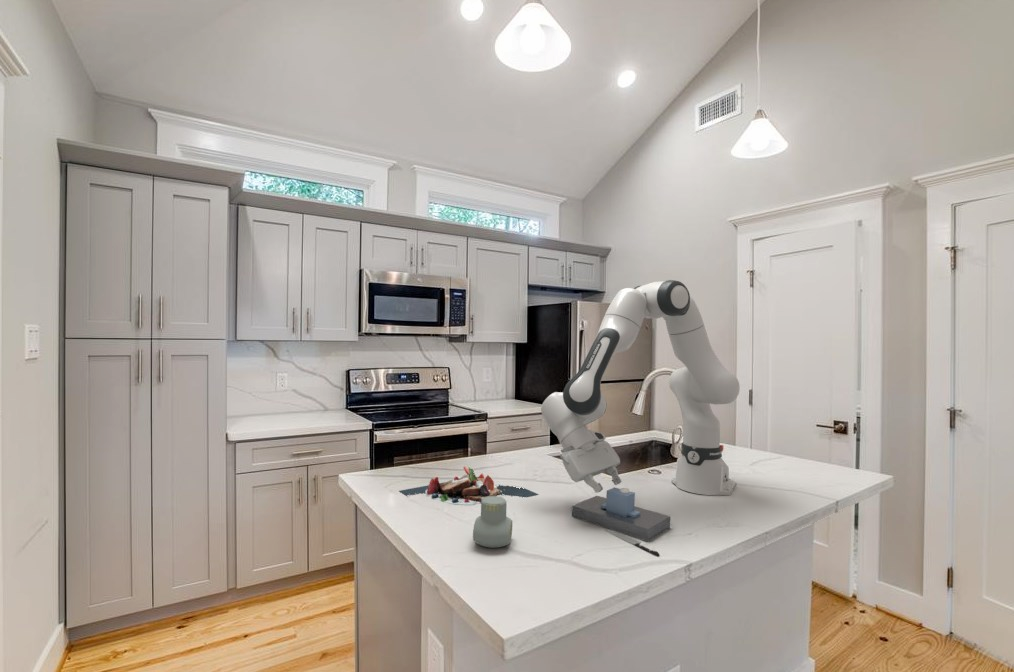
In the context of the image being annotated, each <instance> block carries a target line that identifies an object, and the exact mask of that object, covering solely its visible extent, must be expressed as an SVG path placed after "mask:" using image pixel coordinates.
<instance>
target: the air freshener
mask: <svg viewBox="0 0 1014 672" xmlns="http://www.w3.org/2000/svg"><path fill="white" fill-rule="evenodd" d="M480 503H481V504H480V516H478V517H476V519H475V521H474V524H473V530H472V531H473V532H472V540H473V541H474V542H475V543H476V544H478V545H480V546H482V547H485V548H489V549H493V548H494V549H496V548H497V549H498V548H501V547H502V548H503V547H505V546H508V545H509V544H510V543H511V542H512V541H511V540H512V537H513V536H512V534H513V520H512V519H511V518H510V517H509V516H508V515H507V500H506V499H505V498H504V497H503V496H498V495H497V496H490V497H485V498H483V499H482V500H481V502H480Z"/></svg>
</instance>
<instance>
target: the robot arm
mask: <svg viewBox="0 0 1014 672" xmlns="http://www.w3.org/2000/svg"><path fill="white" fill-rule="evenodd" d="M660 318H663V320H664V322H665V326H666V330H667V334H668V337H669V341H670V344H671V346H672V350H673V353H674V355H675V357H676V358H677V359H678V360H679V361H681V363H682V364H683V365H684V367H683V366H682V367H680V368H676V369H674V370H673V371H672V373H671V374H670V375H669V380H668V382H669V383H668V385H669V388H670V390H671V392H672V393H673V394H674V396H675V397H676V398H677V402H678V404H679V408H680V411H681V415H682V442H681V446H680V451H681V452H680V453H681V456H679V457H678V458H677V459H676V468H675V469H676V470H675V477H674V478H672V479H671V483H673V484H674V485H675V486H676V487H677V488H679V489H680V490H683V491H684V492H688V493H691V494H692V493H693V494H698V495H707V496H709V495H711V496H713V495H714V496H716V495H719V496H720V495H721V496H730V495H732V493H733V491H734V489H735V487H736V485H737V481H736V480H734V479H730V475H729V474H730V472H729V471H730V470H729V466H728V465H727V463H726V462H725V461H724V460H723V454H722V453H723V451H724V447H725V446H724V445H723V444H720V441H721V437H720V436H721V423H720V420H719V419H718V417H717V416H716V415H715V413H714V412H713V410H712V407H711V405H717V406H718V405H726V404H731V403H733V402H734V401H735V400H736V399H737V398H738V396H739V393H740V387H741V386H740V381H739V380H738V378H737V376H736V375H734V374H733V373H731V372H730V371H729V370H728V369H727V368H726V367H725V366H724V365H723V363H722V362H721V361H720V359H719V358H718V356H717V355H716V353H715V351H714V350H713V347H712V345H711V343H710V339H709V337H708V334H707V330H706V328H705V323H704V321H703V317H702V315H701V312H700V310H699V307H698V305H697V304H696V302H695V300H694V298H693V297H692V296H691V295H690V291H689V290H688V288H687V286H686V285H685V284H684V283H683V282H681V281H679V280H674V279H668V280H664V281H663V280H662V281H653V282H650V283H646V284H643V285H638V286H635V287H625V288H622V289H620V290H619V291H617V293H616V294H615V296H614V298H613V299H612V301H611V302H610V304H609V306H608V308H607V309H606V311H605V314H604V317H603V318H602V320H601V323H600V327H598V332H597V334H596V337H595V339H594V341H593V343H592V344H591V347H590V349H589V350H588V353H587V354H586V357H585V359H584V361H583V363H582V365H581V367H580V369H578V371H577V373H576V374H574V376H573V377H572V378H571V379H570V380H569V381H568V382H567V383H566V384H565V386H564V388H563V391H562V392H561V391H560V392H558V391H554V392H552V393H551V394H549V395H548V396H547V397H546V398H545V399H544V400H543V401H542V404H541V405H540V406H541V407H540V411H541V415H542V417H543V419H544V421H545V423H546V424H547V426H548V428H549V429H550V431H551V432H552V433H553V434H554V435H555V436H556V437H557V439H558V442H559V444H560V446H561V447H562V448H561V449H560V452H559V457H560V459H561V460H562V461H561V462H562V464H563V467H564V468H565V470H566V472H567V475H568V476H569V478H570V479H571V480H572V481H573V482H575V483H579V482H581V481H584V483H585V484H586V485H587V486H590V488H592V489H593V491H594V493H596V494H597V493H600V492H601V491H603V490H604V487H603V486H602V484H601V483H600V482H597V481H596V480H595V479H594V477H595V476H598V475H600V474H604V473H608V474H609V475H611V478H612V480H611V482H612V483H613V484H614V485H615V486H617V485H620V484H621V483H622V481H623V480H622V478H621V477H620V476H619V473H618V469H617V467H618V466H619V465H620V464H621V459H620V457H619V455H618V454H617V452H616V451H615V449H614V448H613V447H612V446H611V444H610V443H609V442H608V441H606V439H607V438H606V436H605V435H604V434H603V433H602V432H599V431H594V430H592V429H589V428H588V427H587V426H586V425H588V424H591V423H593V422H595V421H596V420H599V419H600V418H601V417H603V415H604V414H605V413H606V411H607V410H606V409H607V400H606V398H605V396H604V394H603V392H602V390H601V383H602V379H603V377H604V375H605V373H606V371H607V369H608V366H609V365H610V362H611V360H612V358H613V357H614V355H616V354H617V353H623V352H626V351H628V350H629V349H630V348H631V347H632V345H633V344H634V342H635V341H636V339H637V336H638V335H639V332H640V331H641V327H642V325H643V321H644V319H660Z"/></svg>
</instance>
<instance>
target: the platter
mask: <svg viewBox="0 0 1014 672" xmlns="http://www.w3.org/2000/svg"><path fill="white" fill-rule="evenodd" d="M463 470H464V472H465V473H466V474H464V475H463V474H462V475H461V476H460V475H459V476H454V478H453V479H451V480H450V479H449V480H447V481H446V482H445V481H444V482H440V480H439V477H438V476H435V477H434V478H431V479H430V481H429V484H428V485H423V486H417V487H413V488H406V489H402V490H401V489H400V490H398V492H399V493H400V494H402V495H404V496H405V497H407V498H409V496H416V495H419V494H421V495H424V494H425V497H428V498H430V499H432V500H434V501H439V502H442V503H446V504H451V505H453V506H458V505H459V506H475V505H477V504H478V505H479V504H480V505H481V500H482V499H483V498H485V497H490V496H497V497H498V496H501V497H504V496H508V497H509V496H510V497H519V498H523V497H524V498H531V497H536V496H539V493H536V492H534V491H532V490H530V489H527V488H525V487H523V486H520V487H521V488H520V489H519V488H516V487H517V486H515V487H513V486H514V485H510V486H509V485H501V484H498V485H497V484H495V483H494V479H492V477H491V476H490V475H488V474H487V475H486V476H485V475H484V474H483V473H480V475H478V476H476V474H475V472H474V470H473V469H472V468H471V467H466V466H463ZM522 487H523V488H524V489H523V488H522ZM439 495H440V496H439ZM452 497H454V498H452ZM456 497H458V498H456ZM459 497H460V498H459ZM449 498H452V499H451V500H450V499H449ZM459 499H464V501H460V500H459ZM470 501H472V502H470ZM474 502H475V503H474Z"/></svg>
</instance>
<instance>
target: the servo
mask: <svg viewBox="0 0 1014 672" xmlns="http://www.w3.org/2000/svg"><path fill="white" fill-rule="evenodd" d="M605 493H606V497H605V498H606V503H604V504H602V505H601V507H602V508H605V509H606V511H608V512H611V513H615V514H618V515H621V516H625V517H630V516H632V517H636V516H638V515H640V512H639V511H635V510H634V506H636V505H635V501H636V500H635V497H636V493H635V492H633V491H630V488H626V487H622V488H619V487H612V488H610V489H607V490H606V492H605Z"/></svg>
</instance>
